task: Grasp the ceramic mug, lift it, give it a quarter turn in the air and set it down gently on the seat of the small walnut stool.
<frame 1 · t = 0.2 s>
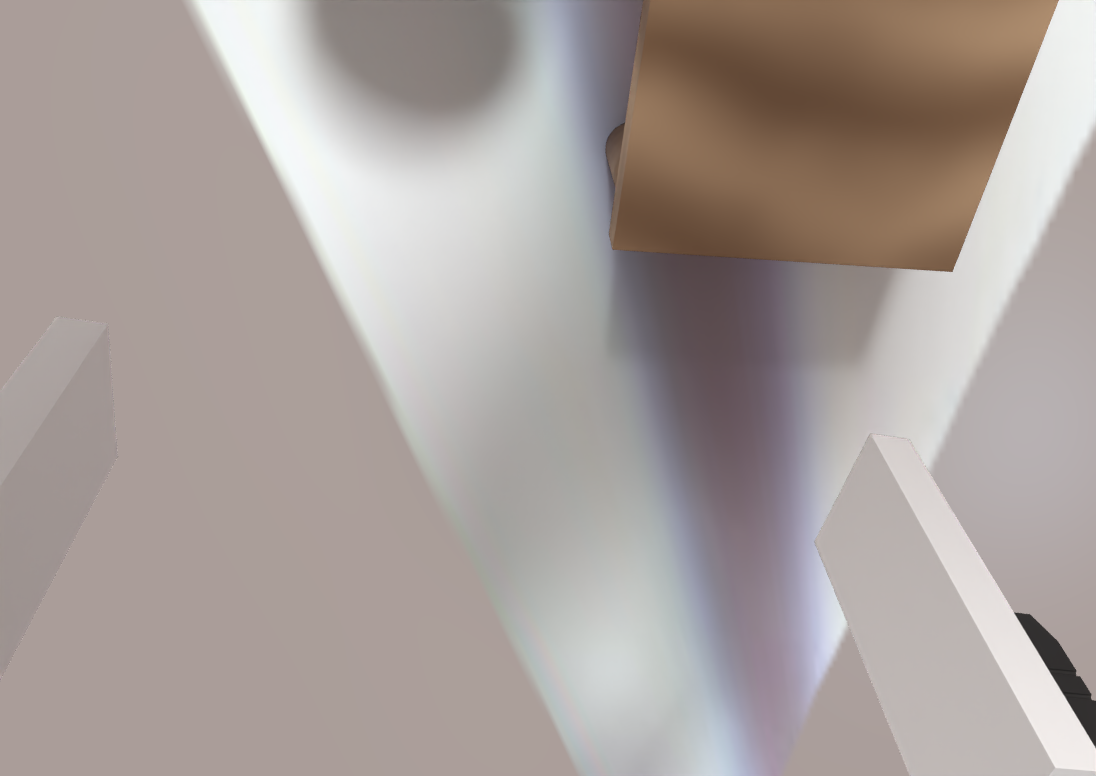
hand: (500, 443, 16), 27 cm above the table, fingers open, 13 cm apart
stool: (779, 31, 38), on the table
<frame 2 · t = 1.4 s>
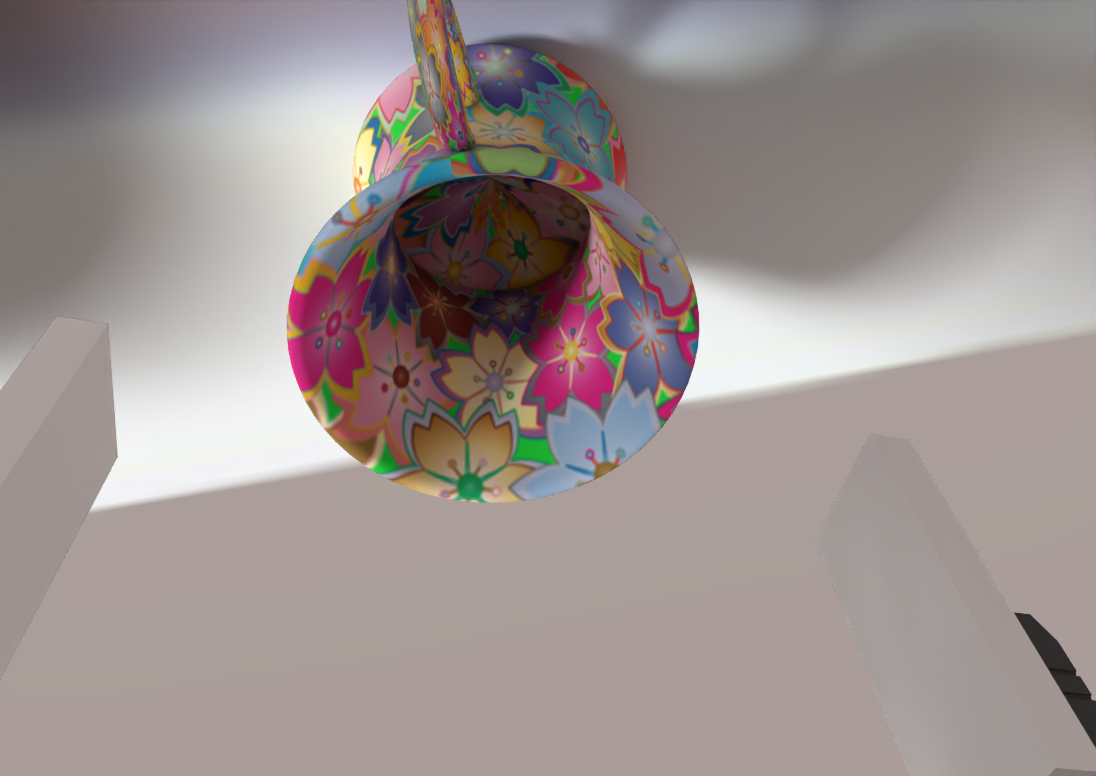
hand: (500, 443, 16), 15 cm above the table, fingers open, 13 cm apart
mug: (482, 129, 29), on the table
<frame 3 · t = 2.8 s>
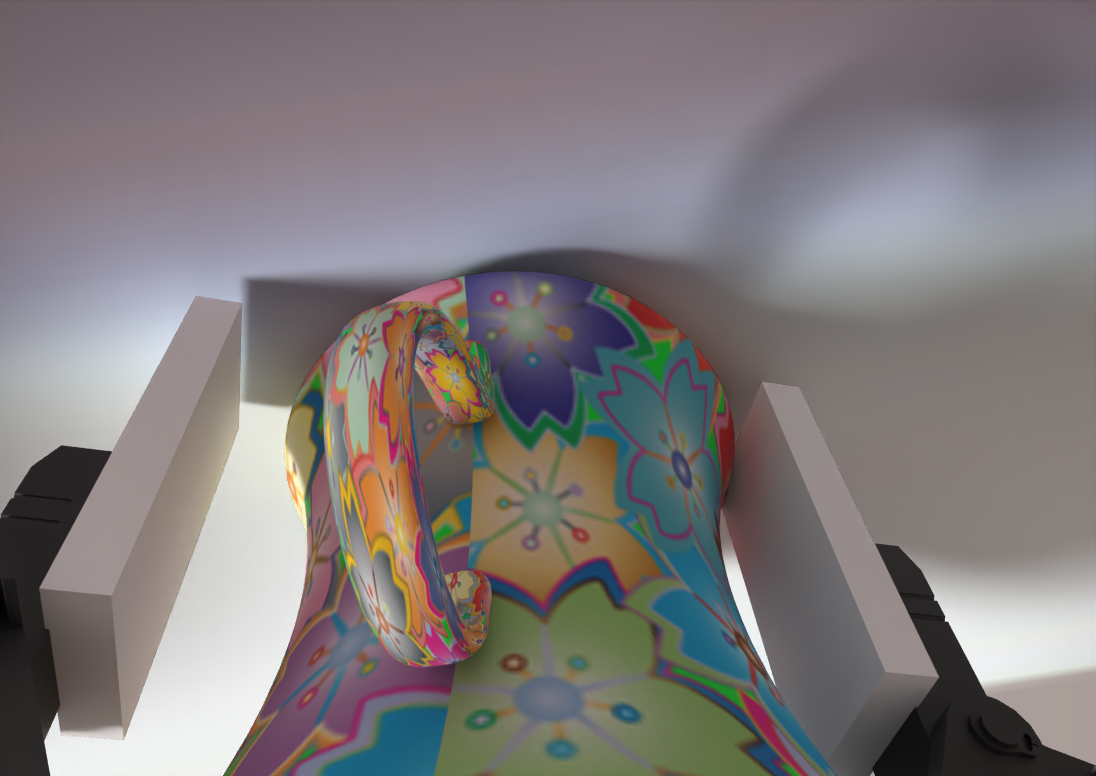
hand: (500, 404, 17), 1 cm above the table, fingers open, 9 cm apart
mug: (498, 379, 18), on the table, touching gripper
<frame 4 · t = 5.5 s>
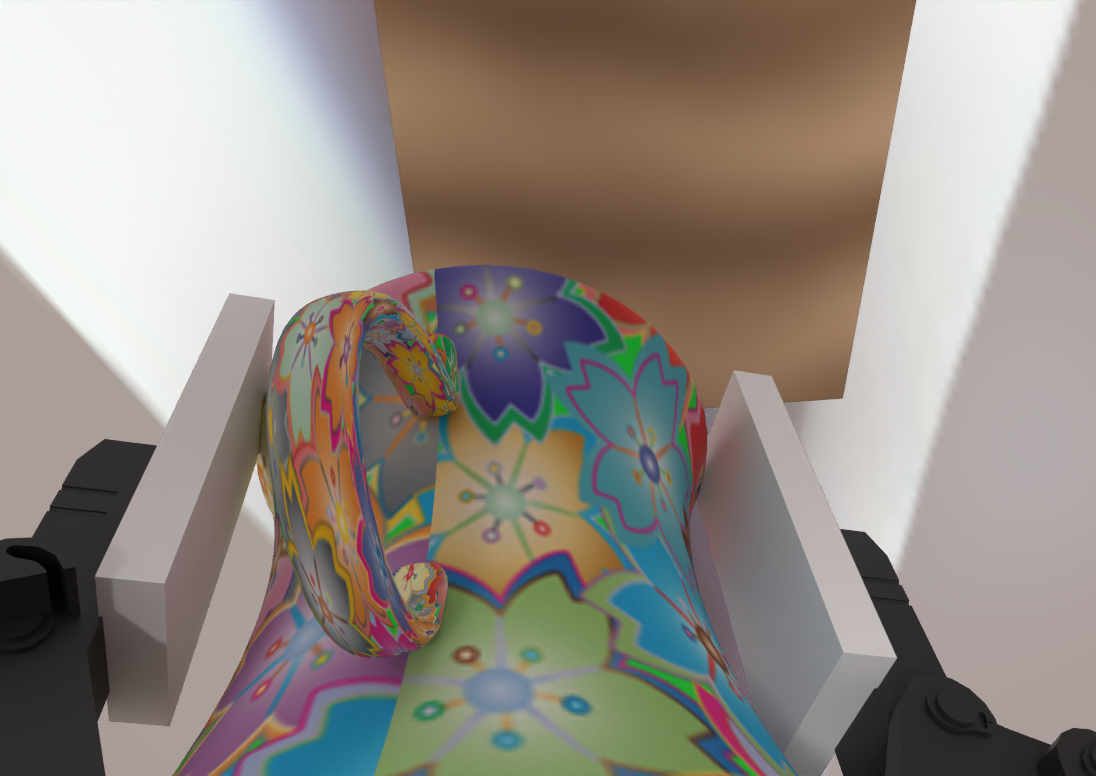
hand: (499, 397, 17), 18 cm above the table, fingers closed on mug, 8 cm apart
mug: (471, 373, 18), point 18 cm above the table, touching gripper
stool: (615, 136, 33), on the table
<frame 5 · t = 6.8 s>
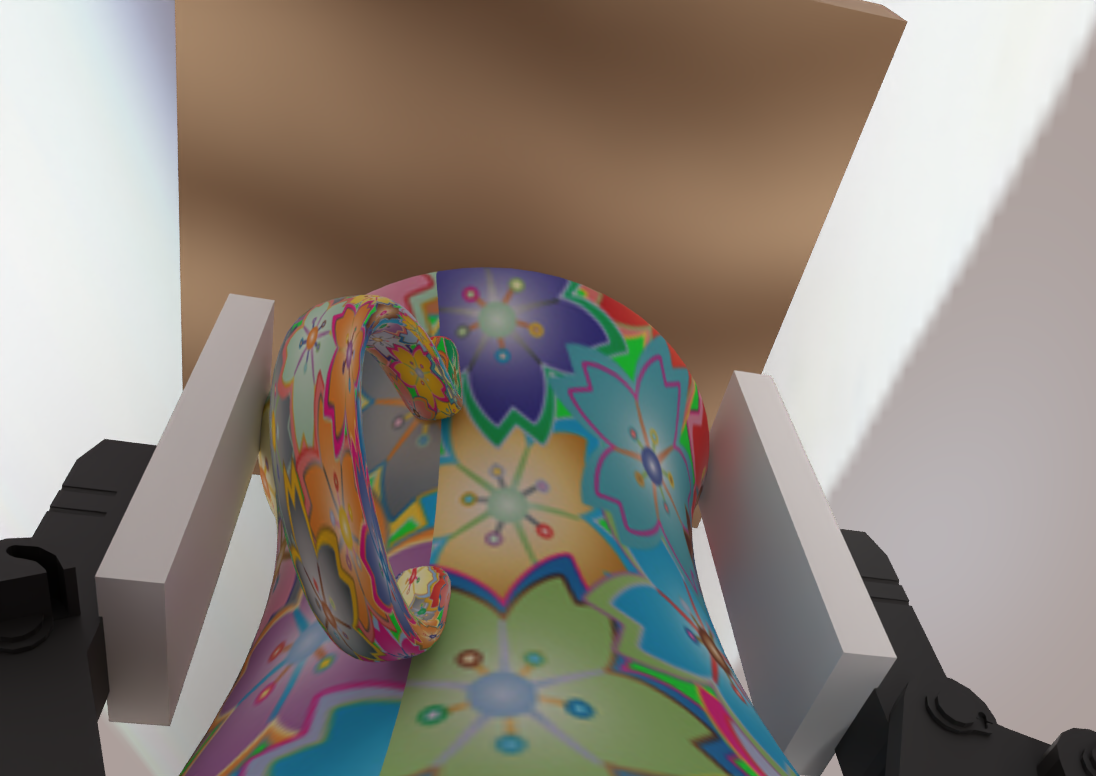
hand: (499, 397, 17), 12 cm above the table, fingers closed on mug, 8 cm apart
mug: (473, 375, 18), point 11 cm above the table, touching gripper
stool: (496, 154, 27), on the table
when the fingers open (9 cm above the table, at t = 7.8 s): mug drops 1 cm, resting on stool.
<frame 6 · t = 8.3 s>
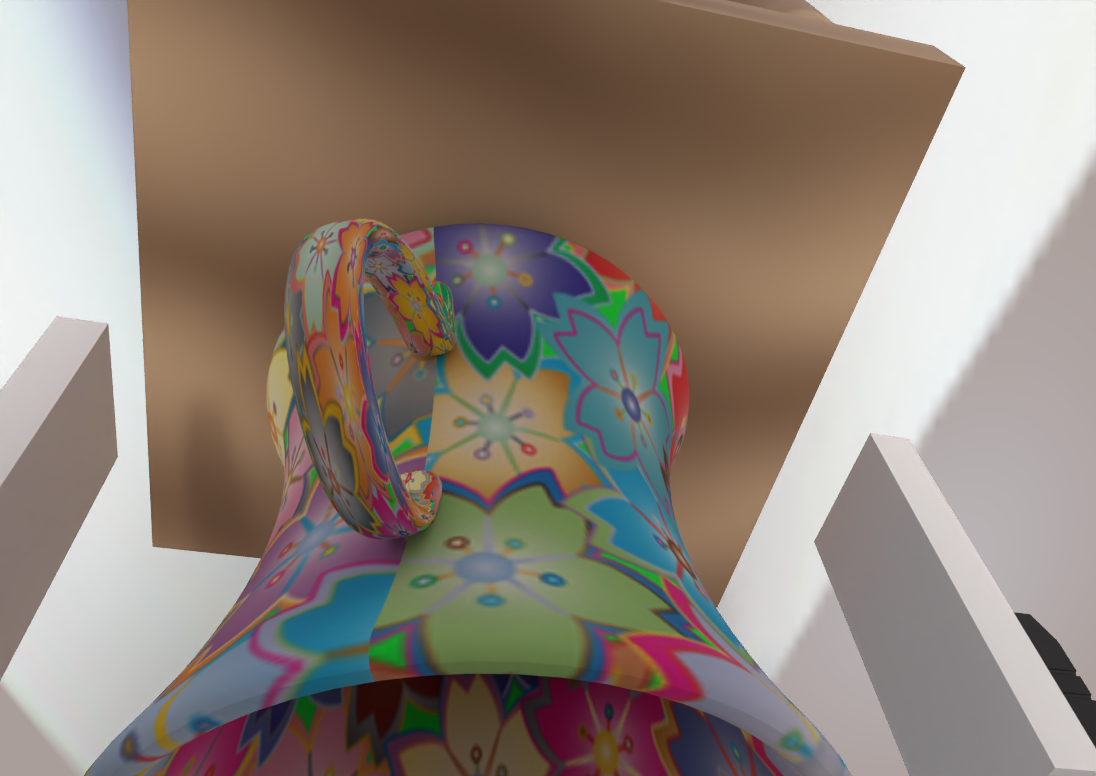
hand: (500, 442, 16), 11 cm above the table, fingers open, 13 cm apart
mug: (468, 330, 19), point 7 cm above the table, touching stool
stool: (497, 196, 25), on the table
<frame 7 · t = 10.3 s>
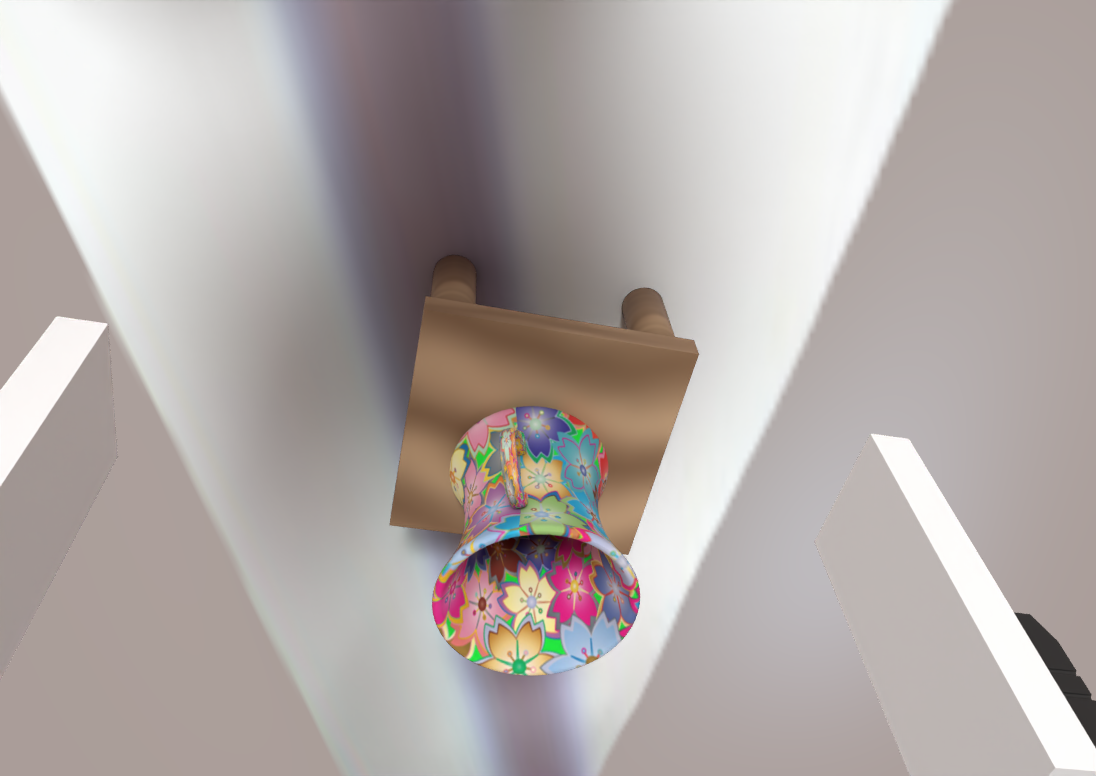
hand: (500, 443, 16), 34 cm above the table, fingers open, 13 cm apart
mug: (524, 439, 49), point 7 cm above the table, touching stool
stool: (531, 370, 55), on the table
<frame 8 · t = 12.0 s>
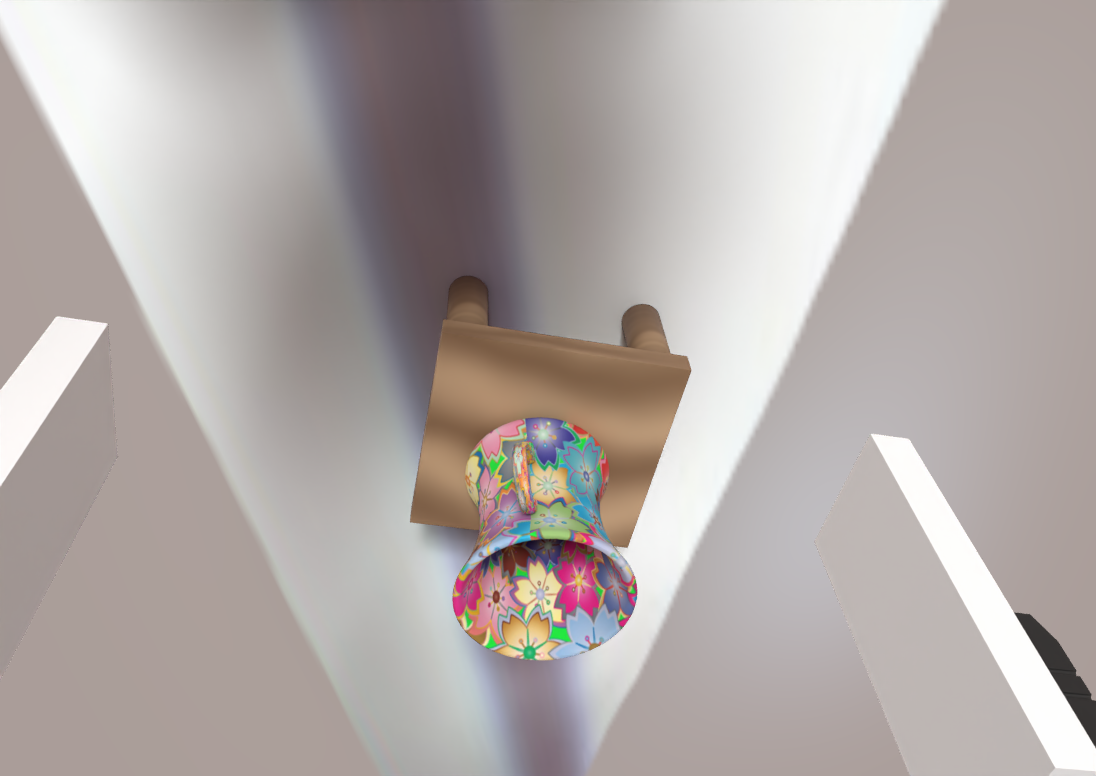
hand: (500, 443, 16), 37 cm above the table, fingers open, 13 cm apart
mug: (532, 445, 54), point 7 cm above the table, touching stool
stool: (538, 379, 60), on the table
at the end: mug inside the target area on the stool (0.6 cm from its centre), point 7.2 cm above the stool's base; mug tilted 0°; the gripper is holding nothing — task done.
